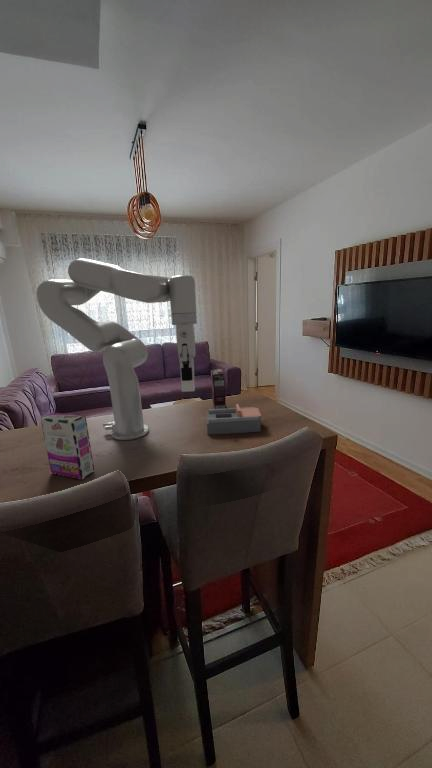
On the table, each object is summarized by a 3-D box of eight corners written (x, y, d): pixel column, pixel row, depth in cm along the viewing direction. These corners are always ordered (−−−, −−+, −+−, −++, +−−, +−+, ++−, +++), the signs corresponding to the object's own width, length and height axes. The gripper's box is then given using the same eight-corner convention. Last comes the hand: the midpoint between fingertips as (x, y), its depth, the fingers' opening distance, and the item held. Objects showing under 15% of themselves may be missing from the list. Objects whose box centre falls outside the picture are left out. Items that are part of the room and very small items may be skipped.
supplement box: (212, 405, 135) (210, 369, 131) (223, 405, 135) (222, 368, 131) (214, 412, 127) (212, 374, 122) (226, 412, 127) (224, 373, 123)
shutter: (238, 419, 107) (237, 411, 107) (235, 411, 115) (235, 403, 114) (261, 418, 108) (261, 410, 107) (257, 410, 115) (257, 402, 114)
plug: (181, 391, 98) (178, 350, 95) (182, 388, 102) (179, 348, 99) (194, 391, 99) (192, 349, 95) (194, 387, 102) (192, 347, 99)
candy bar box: (95, 471, 87) (86, 415, 83) (82, 480, 82) (72, 422, 78) (64, 465, 91) (54, 411, 87) (50, 474, 86) (38, 418, 82)
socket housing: (207, 434, 107) (206, 420, 105) (207, 422, 117) (206, 409, 116) (260, 431, 107) (260, 417, 106) (255, 419, 118) (255, 406, 116)
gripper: (195, 320, 87) (199, 385, 91) (197, 316, 103) (199, 371, 108) (168, 321, 86) (173, 386, 91) (174, 317, 103) (177, 372, 107)
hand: (187, 377), depth 99 cm, fingers closed on plug, 4 cm apart
